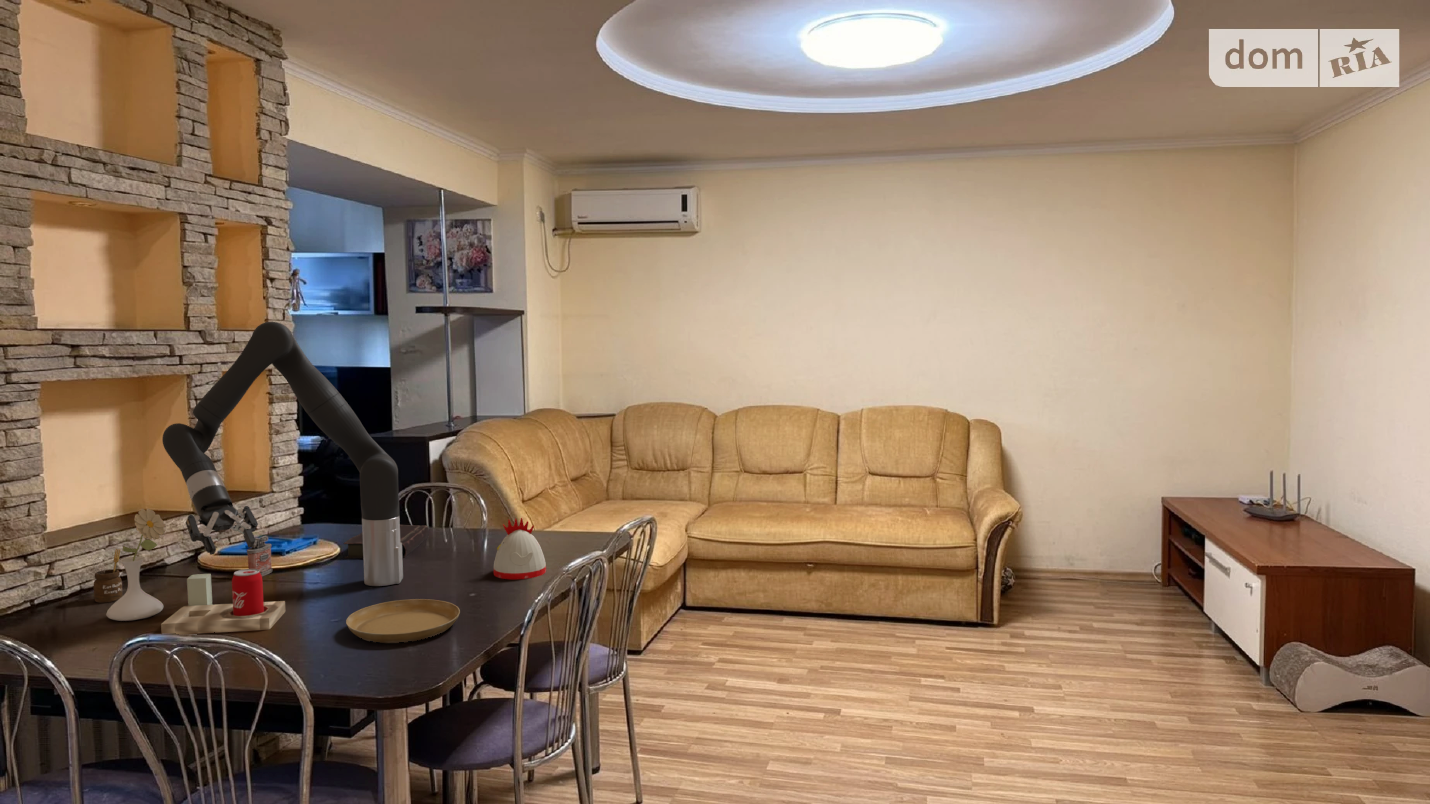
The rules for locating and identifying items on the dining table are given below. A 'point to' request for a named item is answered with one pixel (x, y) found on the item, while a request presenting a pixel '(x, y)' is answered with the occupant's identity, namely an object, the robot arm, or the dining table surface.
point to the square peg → (199, 590)
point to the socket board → (221, 619)
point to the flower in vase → (135, 599)
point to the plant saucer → (403, 620)
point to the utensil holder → (108, 583)
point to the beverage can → (247, 592)
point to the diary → (408, 537)
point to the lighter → (260, 556)
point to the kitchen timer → (519, 554)
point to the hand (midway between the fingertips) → (233, 548)
